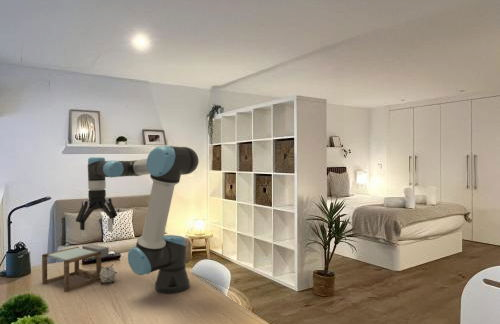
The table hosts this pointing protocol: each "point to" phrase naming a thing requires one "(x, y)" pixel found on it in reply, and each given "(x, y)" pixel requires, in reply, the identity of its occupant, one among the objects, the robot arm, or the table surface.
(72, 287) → the frame
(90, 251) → the chair seat
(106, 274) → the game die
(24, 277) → the table surface
